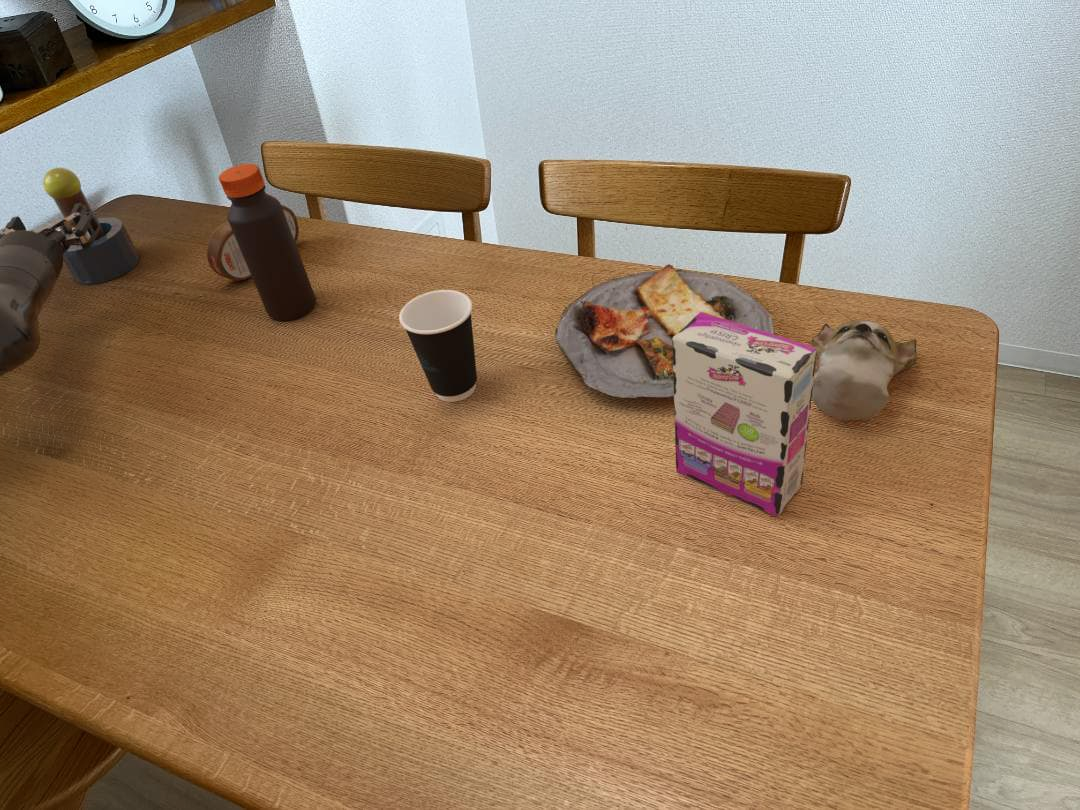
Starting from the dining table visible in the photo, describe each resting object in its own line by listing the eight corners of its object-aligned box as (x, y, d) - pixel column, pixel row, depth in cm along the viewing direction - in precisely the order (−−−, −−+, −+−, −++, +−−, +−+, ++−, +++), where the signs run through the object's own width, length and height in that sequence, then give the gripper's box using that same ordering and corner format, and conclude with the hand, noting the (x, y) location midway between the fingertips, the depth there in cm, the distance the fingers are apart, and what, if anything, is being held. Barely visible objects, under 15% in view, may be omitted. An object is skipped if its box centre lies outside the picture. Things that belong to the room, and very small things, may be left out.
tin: (295, 239, 127) (277, 189, 121) (309, 243, 125) (291, 193, 119) (218, 288, 118) (195, 237, 113) (231, 293, 116) (208, 241, 111)
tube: (98, 289, 122) (79, 255, 119) (61, 277, 127) (41, 243, 123) (152, 257, 128) (135, 223, 124) (114, 246, 133) (97, 213, 129)
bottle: (327, 299, 112) (277, 163, 99) (293, 326, 108) (236, 188, 95) (292, 290, 115) (240, 157, 102) (257, 316, 111) (199, 181, 98)
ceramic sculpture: (791, 352, 76) (826, 277, 87) (782, 422, 82) (816, 344, 92) (911, 375, 72) (933, 293, 82) (894, 448, 77) (916, 363, 87)
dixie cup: (497, 368, 95) (481, 289, 88) (478, 413, 89) (459, 333, 82) (434, 365, 97) (413, 288, 90) (412, 409, 91) (387, 330, 84)
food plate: (533, 317, 102) (529, 293, 100) (698, 264, 106) (698, 241, 104) (614, 438, 84) (611, 412, 81) (809, 369, 88) (812, 343, 86)
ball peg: (102, 275, 125) (48, 178, 114) (84, 269, 127) (29, 174, 117) (128, 259, 128) (77, 164, 117) (110, 254, 130) (59, 160, 120)
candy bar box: (804, 485, 76) (821, 346, 65) (778, 519, 73) (792, 380, 62) (700, 441, 82) (700, 307, 71) (673, 471, 79) (669, 337, 68)
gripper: (64, 233, 99) (89, 179, 111) (-56, 260, 97) (-17, 202, 110) (94, 285, 104) (115, 228, 116) (-20, 311, 102) (13, 250, 115)
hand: (51, 216), depth 113 cm, fingers open, 8 cm apart
